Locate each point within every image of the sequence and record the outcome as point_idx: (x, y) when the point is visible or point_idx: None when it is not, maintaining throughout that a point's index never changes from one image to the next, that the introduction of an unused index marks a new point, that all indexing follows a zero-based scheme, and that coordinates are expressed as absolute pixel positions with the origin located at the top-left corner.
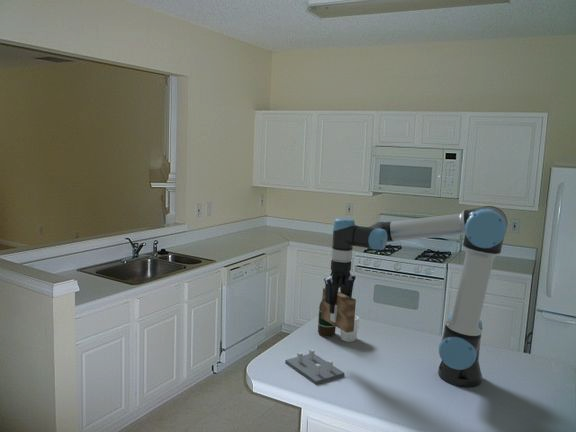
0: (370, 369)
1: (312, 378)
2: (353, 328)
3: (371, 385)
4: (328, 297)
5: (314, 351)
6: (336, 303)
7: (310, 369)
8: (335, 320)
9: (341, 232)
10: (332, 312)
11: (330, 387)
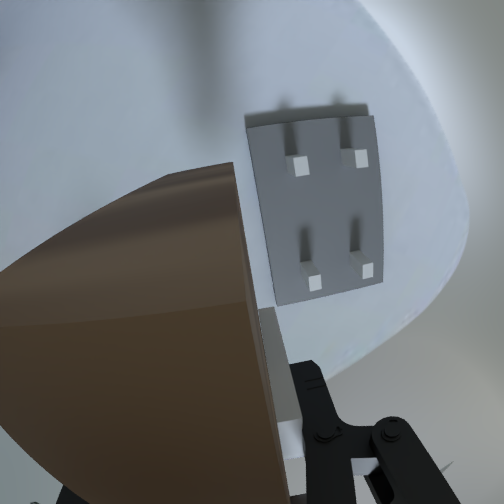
0: (125, 150)
1: (375, 135)
2: (164, 176)
3: (189, 45)
4: (437, 482)
5: (308, 275)
6: (280, 448)
7: (351, 195)
8: (266, 317)
9: None
10: (309, 368)
11: (333, 79)
